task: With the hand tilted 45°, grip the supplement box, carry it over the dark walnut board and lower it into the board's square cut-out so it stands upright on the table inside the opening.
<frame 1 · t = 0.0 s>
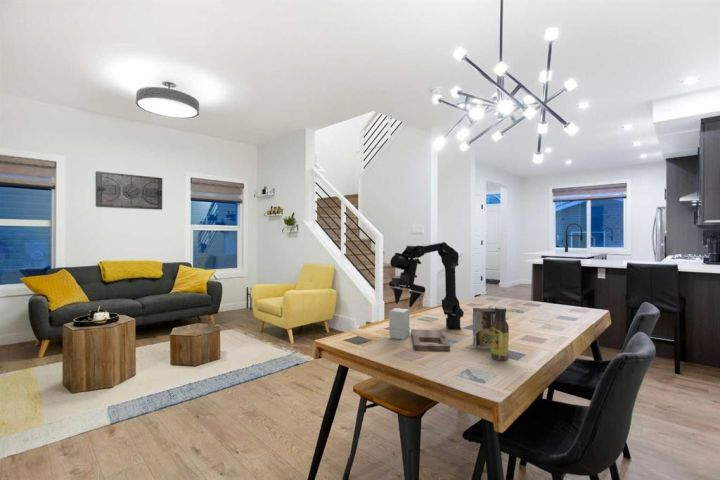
hand: (403, 305, 163), 15 cm above the table, tool pointing down, fingers open, 9 cm apart
coffee box: (484, 347, 153), on the table
cutout board: (430, 345, 154), on the table
sauce bottle: (499, 358, 138), on the table
supplement box: (399, 337, 167), on the table
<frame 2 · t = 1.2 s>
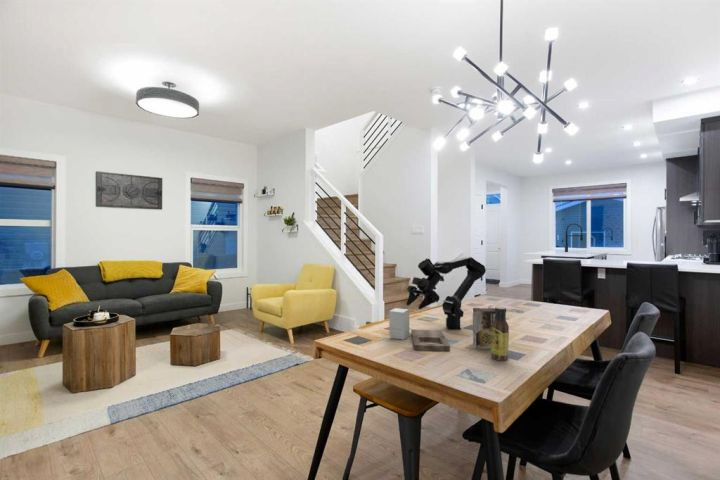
hand: (412, 306, 170), 13 cm above the table, tool tilted 45°, fingers open, 9 cm apart
nothing on the table moved.
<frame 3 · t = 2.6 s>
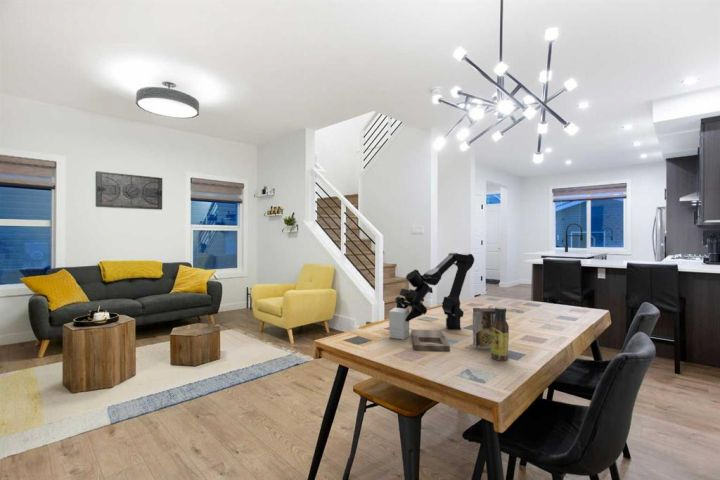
hand: (400, 318, 167), 8 cm above the table, tool tilted 45°, fingers open, 9 cm apart
supplement box: (399, 336, 167), on the table, touching gripper
everything else where it was.
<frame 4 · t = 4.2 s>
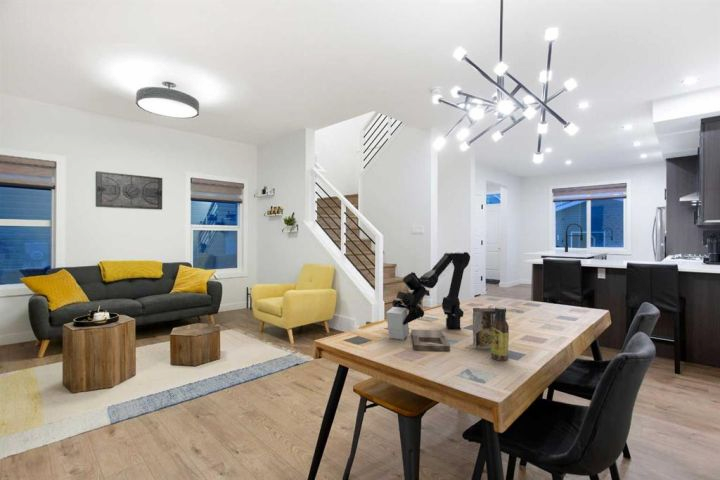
hand: (397, 322, 165), 7 cm above the table, tool tilted 45°, fingers closed on supplement box, 9 cm apart
supplement box: (399, 336, 166), on the table, touching gripper
everything else where it was.
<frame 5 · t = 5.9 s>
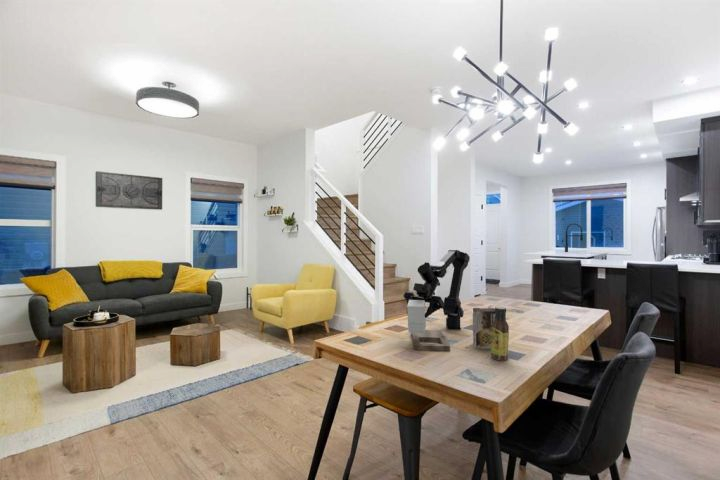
hand: (416, 315, 157), 12 cm above the table, tool tilted 45°, fingers closed on supplement box, 9 cm apart
supplement box: (417, 329, 158), point 5 cm above the table, touching gripper
everything else where it was.
when the fingers open (8 cm above the table, at t = 9.1 s): supplement box stays where it is, resting in cutout board.
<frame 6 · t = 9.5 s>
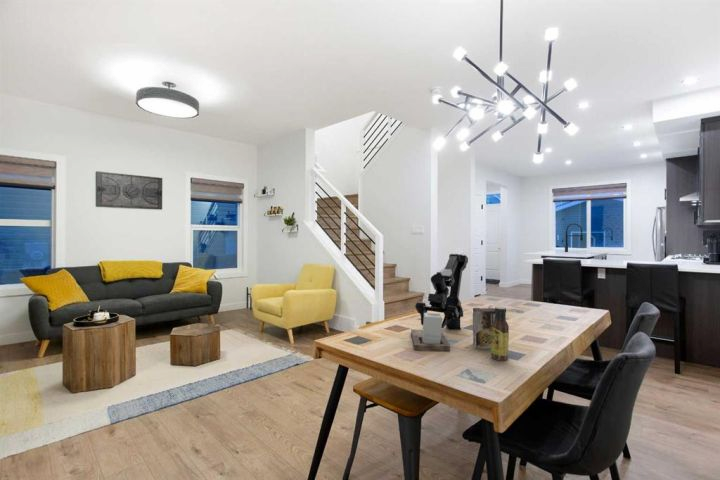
hand: (431, 326, 156), 8 cm above the table, tool tilted 45°, fingers open, 9 cm apart
supplement box: (430, 344, 156), resting in cutout board
everything else where it was.
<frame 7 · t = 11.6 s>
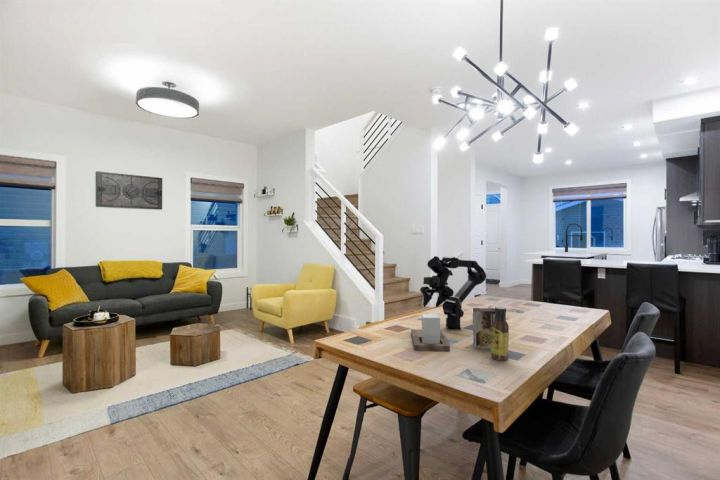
hand: (430, 306, 171), 13 cm above the table, tool tilted 35°, fingers open, 9 cm apart
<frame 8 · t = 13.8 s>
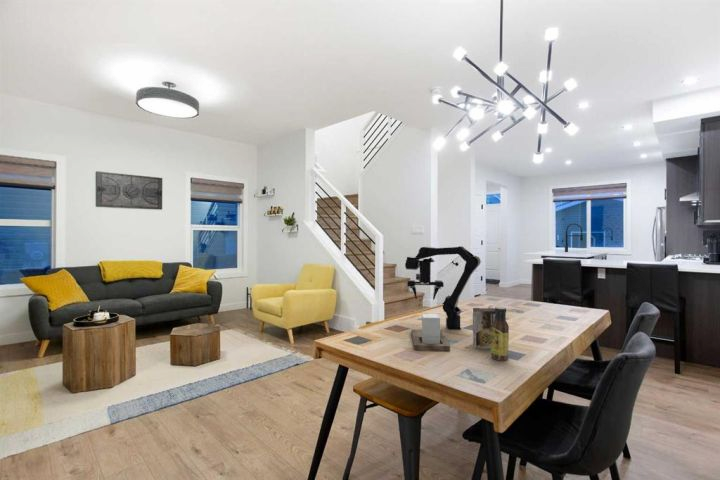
hand: (424, 299, 190), 13 cm above the table, tool pointing down, fingers open, 9 cm apart
nothing on the table moved.
at the end: supplement box 1.0 cm off-centre on the cutout board, point 0.0 cm above the cutout board's base; supplement box tilted 0°; the gripper is holding nothing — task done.
